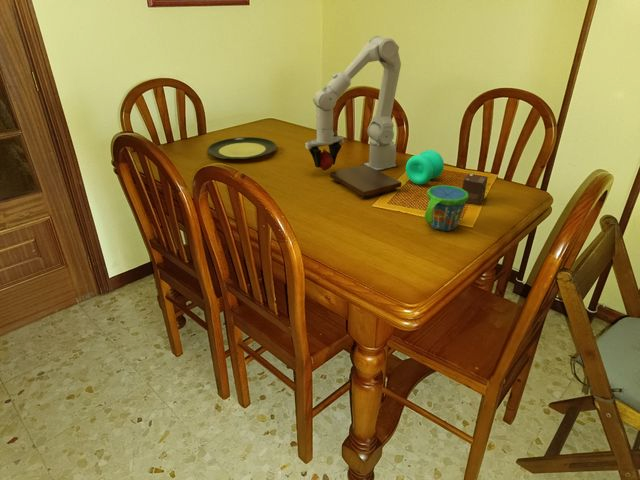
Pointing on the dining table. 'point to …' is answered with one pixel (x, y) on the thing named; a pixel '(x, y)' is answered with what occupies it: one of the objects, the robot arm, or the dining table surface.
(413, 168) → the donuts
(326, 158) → the onion
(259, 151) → the plate
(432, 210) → the snack cup
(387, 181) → the platform
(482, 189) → the box
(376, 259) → the dining table surface
